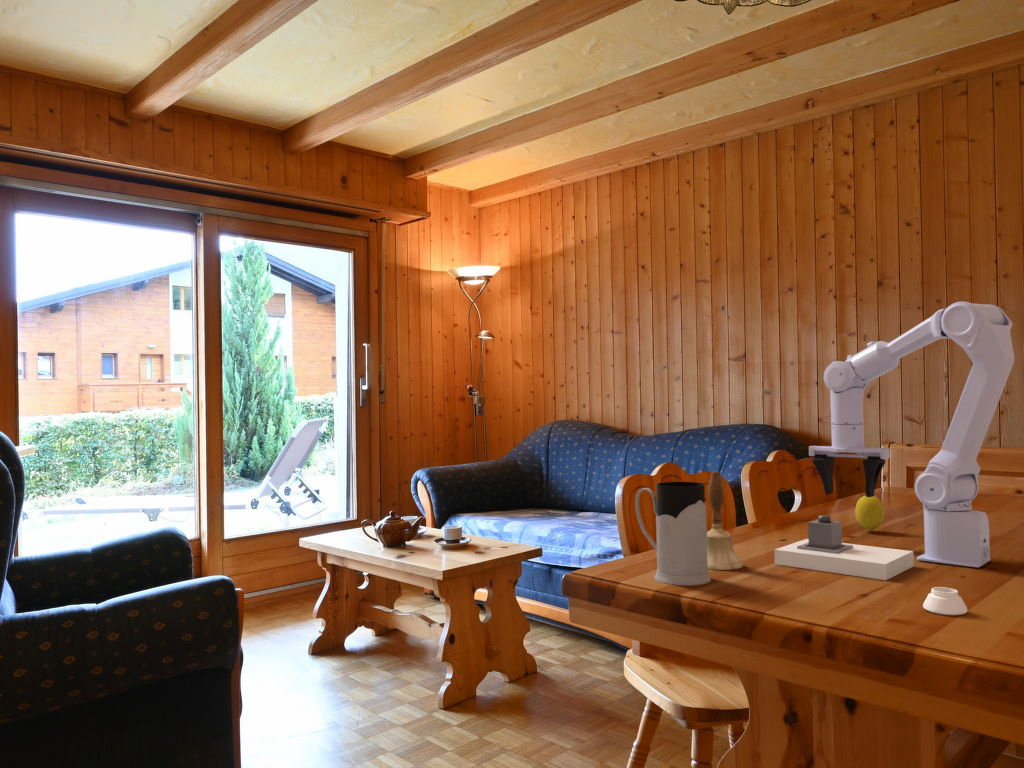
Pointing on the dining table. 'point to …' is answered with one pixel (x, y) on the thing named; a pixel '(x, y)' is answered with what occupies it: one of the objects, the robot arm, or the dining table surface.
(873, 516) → the lemon
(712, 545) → the hand bell
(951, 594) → the white upside-down bowl
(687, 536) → the glass holder
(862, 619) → the dining table surface
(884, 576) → the socket board
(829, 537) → the plug
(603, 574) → the dining table surface
